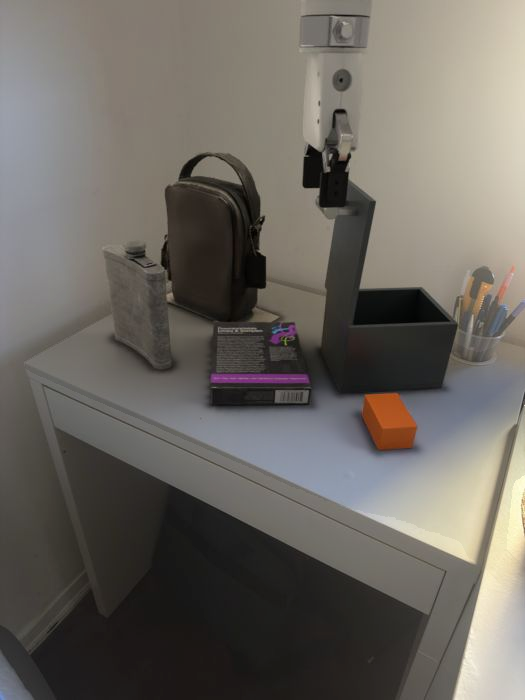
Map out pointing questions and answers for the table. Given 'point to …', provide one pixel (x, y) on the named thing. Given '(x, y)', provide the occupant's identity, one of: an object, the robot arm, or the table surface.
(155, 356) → the flask
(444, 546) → the table surface
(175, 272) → the shoulder bag
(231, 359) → the box
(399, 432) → the orange rectangular block
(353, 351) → the bin
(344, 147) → the robot arm
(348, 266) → the bin lid
